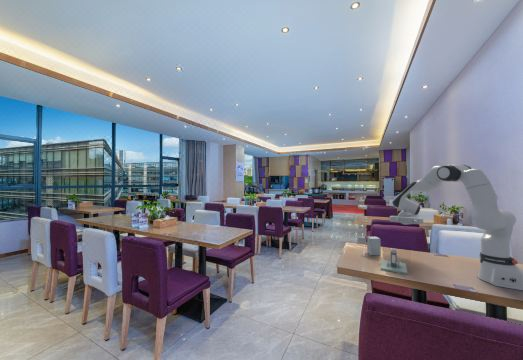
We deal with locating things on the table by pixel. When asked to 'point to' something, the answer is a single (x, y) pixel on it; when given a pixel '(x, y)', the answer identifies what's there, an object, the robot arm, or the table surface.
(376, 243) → the supplement box
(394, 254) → the drive
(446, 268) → the table surface
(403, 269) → the pin tray
